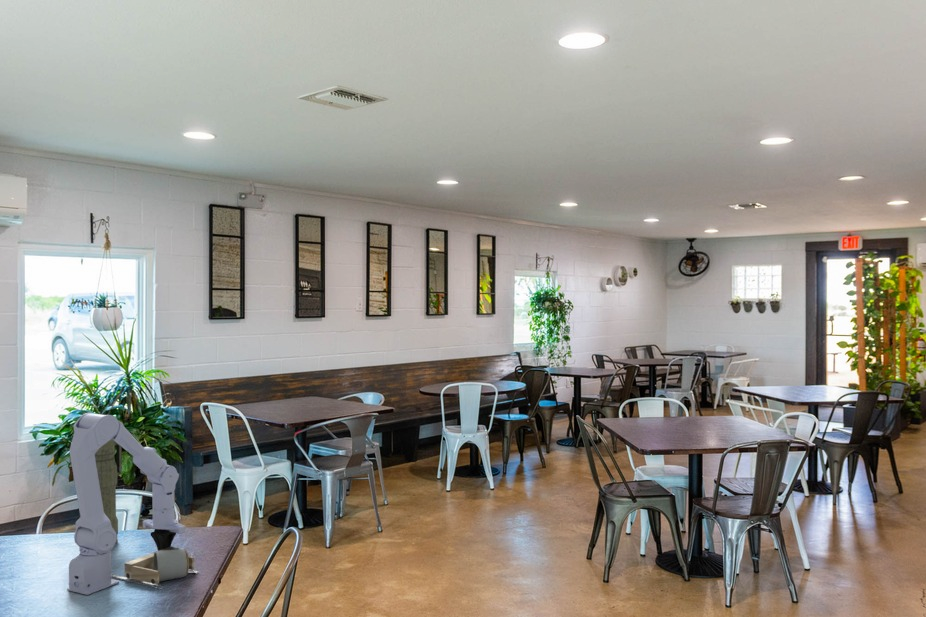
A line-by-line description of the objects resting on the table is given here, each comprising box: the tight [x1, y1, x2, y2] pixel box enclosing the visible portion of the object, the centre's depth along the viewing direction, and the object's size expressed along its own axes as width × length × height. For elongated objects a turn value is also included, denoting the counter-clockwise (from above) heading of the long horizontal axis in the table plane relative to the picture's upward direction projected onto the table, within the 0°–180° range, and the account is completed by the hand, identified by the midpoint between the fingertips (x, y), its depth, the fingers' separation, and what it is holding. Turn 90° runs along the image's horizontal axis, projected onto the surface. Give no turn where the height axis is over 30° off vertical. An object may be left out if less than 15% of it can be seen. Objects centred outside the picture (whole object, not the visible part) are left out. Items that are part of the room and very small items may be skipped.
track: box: [111, 570, 199, 589], centre depth 203 cm, size 13×23×1 cm, turn 63°
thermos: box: [95, 439, 123, 545], centre depth 230 cm, size 9×12×35 cm
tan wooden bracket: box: [124, 545, 195, 585], centre depth 203 cm, size 15×12×4 cm
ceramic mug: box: [153, 548, 190, 582], centre depth 202 cm, size 11×8×8 cm
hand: (164, 556), depth 212 cm, fingers closed
